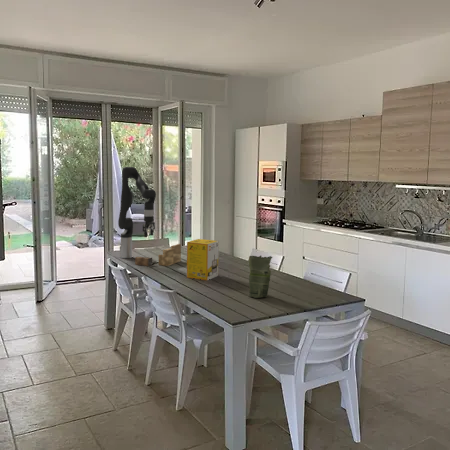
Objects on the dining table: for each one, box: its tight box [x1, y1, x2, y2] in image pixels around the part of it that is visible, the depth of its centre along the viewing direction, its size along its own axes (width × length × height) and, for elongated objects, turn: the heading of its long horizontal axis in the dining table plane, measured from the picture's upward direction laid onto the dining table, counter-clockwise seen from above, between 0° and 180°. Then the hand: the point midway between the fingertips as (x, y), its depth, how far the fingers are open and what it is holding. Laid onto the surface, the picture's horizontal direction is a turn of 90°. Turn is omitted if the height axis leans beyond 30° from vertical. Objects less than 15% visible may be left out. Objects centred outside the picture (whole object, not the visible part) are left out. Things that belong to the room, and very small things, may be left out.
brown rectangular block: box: [134, 256, 153, 267], centre depth 357 cm, size 13×4×6 cm, turn 66°
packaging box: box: [186, 238, 220, 281], centre depth 321 cm, size 16×16×25 cm
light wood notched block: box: [157, 243, 182, 267], centre depth 364 cm, size 8×21×14 cm, turn 156°
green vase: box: [248, 255, 273, 299], centre depth 275 cm, size 11×12×25 cm
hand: (148, 236), depth 358 cm, fingers open, 8 cm apart
